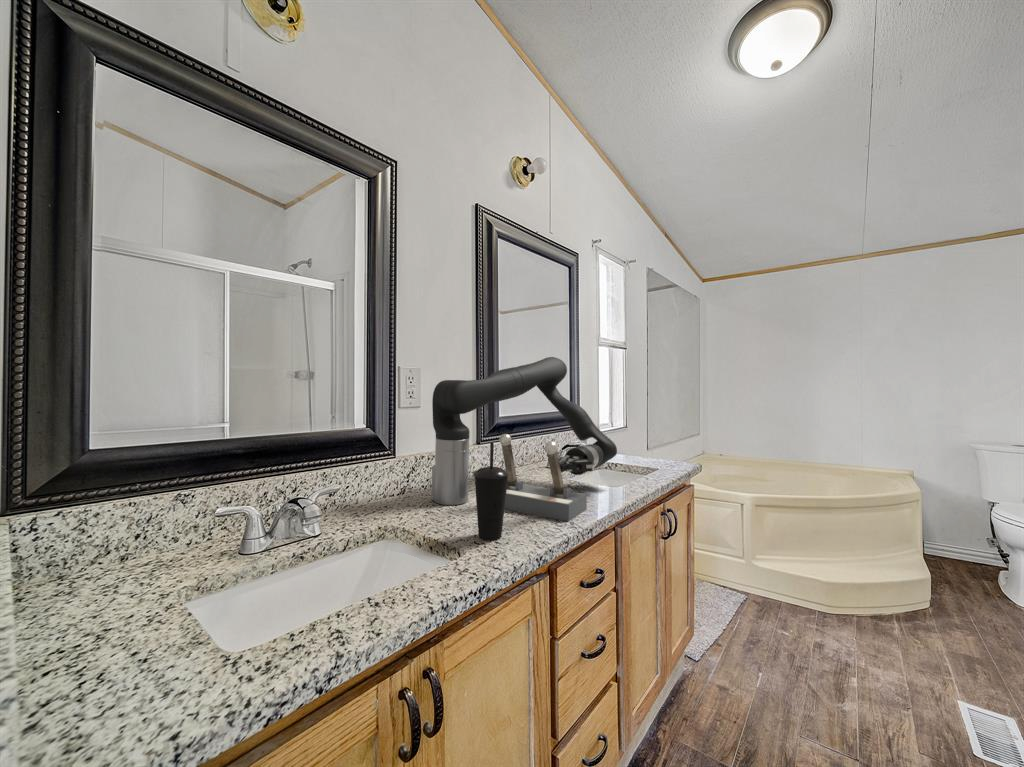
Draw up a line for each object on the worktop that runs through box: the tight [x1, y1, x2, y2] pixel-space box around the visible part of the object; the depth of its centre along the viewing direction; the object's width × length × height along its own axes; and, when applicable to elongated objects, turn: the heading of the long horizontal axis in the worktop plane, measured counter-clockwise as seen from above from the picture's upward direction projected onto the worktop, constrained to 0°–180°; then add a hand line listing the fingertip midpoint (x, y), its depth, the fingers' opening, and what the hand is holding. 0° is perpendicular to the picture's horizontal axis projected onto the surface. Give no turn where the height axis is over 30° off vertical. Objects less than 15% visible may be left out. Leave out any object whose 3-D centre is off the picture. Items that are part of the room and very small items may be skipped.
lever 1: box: [498, 433, 518, 487], centre depth 115 cm, size 3×3×15 cm
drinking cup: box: [472, 441, 509, 541], centre depth 91 cm, size 8×8×20 cm
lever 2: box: [544, 441, 565, 495], centre depth 107 cm, size 3×3×15 cm
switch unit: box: [504, 480, 588, 522], centre depth 114 cm, size 24×12×6 cm, turn 60°
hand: (557, 468), depth 108 cm, fingers closed
